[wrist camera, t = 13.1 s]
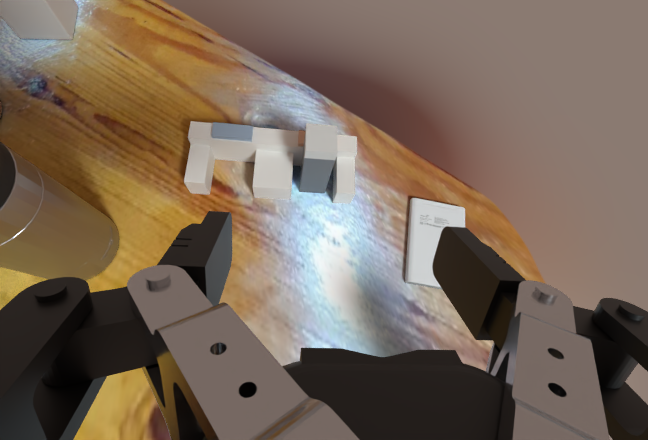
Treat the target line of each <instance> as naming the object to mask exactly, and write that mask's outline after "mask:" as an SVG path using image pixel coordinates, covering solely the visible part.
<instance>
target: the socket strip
mask: <svg viewBox="0 0 648 440" xmlns="http://www.w3.org/2000/svg"><path fill="white" fill-rule="evenodd" d="M304 138H305V131H302V130H299V131H291V130H280V129H269V128H259V127H253V126H249V125H238V124H228V123H217V122H213V123H205V122H194V121H191V123H190V128H189V134H188V139H189V141H190V144H191V145H190V151H189V156H188V162H187V167H186V173H185V178H184V183H185V185H186V186H187V188H188V189H189V191H190V193H194V194H209V195H210V190H211V184H212V177H213V170H214V164H215V159H218V160H230V161H243V162H255V168H254V178H253V192H254V198H268V199H282V200H291V189H292V172H293V166H301V161H302V153H303V145H304ZM356 154H357V137H355V136H345V135H337V156H336V159H335V162H334V165H333V203H341V204H350V203H351V201H352V199H353V197H354V196H355V156H356Z"/></svg>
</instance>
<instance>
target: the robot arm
mask: <svg viewBox="0 0 648 440" xmlns="http://www.w3.org/2000/svg"><path fill="white" fill-rule="evenodd" d="M118 246H119V233H118V230H117V227H116V225H115V224H114V223H113V221H112V220H111V219H110V218H108V217H107V216H106V215H104V214H103V213H102V212H100V211H99V210H97V209H96V208H94V207H93V206H92V205H90V204H89V203H88V202H86V201H85V200H83V199H82V198H80V197H79V196H78V195H76V194H75V193H73V192H72V191H70V190H69V189H67V188H66V187H65V186H63V185H62V184H60V183H59V182H57V181H56V180H55V179H53V178H52V177H50V176H49V175H47V174H46V173H45V172H43V171H42V170H40V169H39V168H37V167H36V166H35V165H33V164H32V163H30V162H29V161H27V160H26V159H24V158H23V157H21V156H20V155H19V154H17V153H16V152H14V151H13V150H11V149H10V148H9V147H7V146H6V145H4V144H3V143H1V142H0V267H3V268H7V269H11V270H15V271H19V272H23V273H27V274H31V275H34V276H38V277H42V278H46V279H49V280H46V281H42V282H39V283H37V284H34V285H32V286H30V287H28V288H26V289H25V290H23V291H22V292H20V293H19V294H18V295H17V296H16V297H14V298H13V299H12V300H11V301H10V302H9V303H8V304H7V305H6V306H5V307H3V308H2V309H1V310H0V440H73V439H74V437H75V435H76V433H77V431H78V430H79V428H80V426H81V424H82V422H83V420H84V418H85V416H86V415H87V413H88V411H89V409H90V407H91V405H92V403H93V401H94V399H95V398H96V396H97V394H98V392H99V390H100V388H101V386H102V384H103V382H104V381H105V379H106V377H107V376H109V375H113V374H117V373H121V372H125V371H129V370H133V369H138V368H142V369H143V372H144V374H145V376H146V378H147V380H148V383H149V385H150V387H151V389H152V392H153V394H154V396H155V398H156V401H157V403H158V405H159V407H160V410H161V412H162V414H163V416H164V419H165V421H166V424H167V427H168V430H169V434H170V437H171V440H610V439H609V435H610V436H611V438H612V439H613V440H648V405H647V404H646V403H645V402H644V401H643V400H642V399H641V398H640V397H639V396H638V395H637V394H636V393H635V392H634V391H633V390H632V389H631V388H630V387H629V385H628V384H626V382H625V381H626V379H627V378H628V377H629V375H630V374H631V372H632V371H633V370H634V368H635V367H636V365H637V364H638V363H639V364H640V365H641V366H642V367H643V368H644V369H646V370H647V371H648V312H647V311H645V310H643V309H641V308H639V307H637V306H635V305H633V304H630V303H628V302H625V301H621V300H618V299H613V298H604V299H601V300H600V302H599V304H598V305H597V307H596V309H595V310H594V311H592V310H588V309H584V308H579V307H575V306H573V304H572V301H571V300H570V299H569V298H568V297H567V296H566V295H565V294H564V293H562V292H561V291H559V290H558V289H556V288H554V287H552V286H549V285H547V284H544V283H541V282H537V281H529V280H528V281H526V280H525V279H524V278H523V277H522V276H521V275H520V274H519V273H518V272H516V271H515V270H514V269H513V268H512V267H511V266H510V265H509V264H506V261H505V260H504V259H503V258H501V257H499V255H498V254H497V253H496V252H495V251H494V250H493V249H492V248H491V247H489V246H487V245H485V244H484V243H482V242H481V241H480V240H479V239H478V238H477V237H476V236H475V235H474V234H473V233H471V232H470V231H469V230H468V229H467V228H465V227H449V226H446V227H444V228H443V230H442V232H441V235H440V239H439V242H438V246H437V249H436V253H435V256H434V259H433V265H432V269H433V274H434V277H435V279H436V280H437V282H438V283H439V285H440V286H441V288H442V289H443V291H444V292H445V294H446V295H447V297H448V298H449V300H450V301H451V303H452V304H453V306H454V307H455V309H456V310H457V312H458V314H459V315H460V317H461V318H462V320H463V321H464V323H465V324H466V326H467V327H468V329H469V330H470V332H471V333H472V335H473V336H474V338H475V339H476V340H493V341H494V343H493V346H492V348H491V350H490V354H489V359H488V364H487V368H486V371H483V370H481V369H478V368H476V367H473V366H470V365H467V364H463V363H462V362H461V360H460V358H459V356H458V354H457V353H456V351H455V350H416V351H411V352H407V353H403V354H398V355H394V356H389V357H377V356H372V355H368V354H363V353H358V352H354V351H349V350H345V349H336V348H301V355H300V361H298V362H294V363H291V364H288V365H285V366H281V365H280V364H279V362H278V361H277V360H276V359H275V358H274V357H273V356H272V354H271V353H270V352H269V351H268V350H267V349H266V347H265V346H264V345H263V344H262V343H261V342H260V341H259V339H258V338H257V337H256V336H255V335H254V334H253V332H252V331H251V330H250V329H249V328H248V327H247V325H246V324H245V323H244V322H243V321H242V320H241V319H240V317H239V316H238V315H237V314H236V313H235V312H234V310H233V309H232V308H231V307H230V306H229V305H228V304H227V303H221V304H219V301H220V298H221V295H222V292H223V289H224V285H225V282H226V279H227V276H228V273H229V270H230V267H231V261H232V217H231V213H230V212H215V211H209V212H208V213H207V215H206V217H205V218H204V220H203V222H202V223H201V224H191V225H189V226H187V227H186V228H184V229H182V230H181V231H180V233H179V234H178V236H177V237H176V240H174V241H173V243H172V244H171V246H170V247H169V249H168V250H167V252H166V253H165V254H164V256H163V257H162V259H161V260H160V262H159V263H158V265H157V266H152V267H148V268H145V269H143V270H141V271H139V272H137V273H135V274H134V275H133V276H132V277H131V278H130V279H129V280H128V283H127V287H123V288H118V289H112V290H105V291H99V292H92V293H90V290H89V285H88V283H87V282H86V281H85V280H87V279H90V278H92V277H94V276H96V275H97V274H99V273H100V272H102V271H103V270H104V269H105V268H106V267H107V266H108V265H109V264H110V263H111V262H112V260H113V258H114V257H115V255H116V252H117V250H118Z"/></svg>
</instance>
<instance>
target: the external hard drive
mask: <svg viewBox="0 0 648 440" xmlns="http://www.w3.org/2000/svg"><path fill="white" fill-rule="evenodd" d="M446 226H449V227H465V208H463V207H459V206H454V205H449V204H444V203H439V202H434V201H429V200H424V199H419V198H412V199H411V200H410V211H409V227H408V243H407V257H406V273H405V283H409V284H415V285H421V286H426V287H432V288H437V289H442V288H441V286H440V285H439V283H438V282H437V280H436V279H435V277H434V274H433V269H432V265H433V259H434V256H435V253H436V249H437V246H438V242H439V239H440V235H441V232H442V230H443V228H444V227H446Z"/></svg>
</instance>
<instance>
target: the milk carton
mask: <svg viewBox="0 0 648 440" xmlns="http://www.w3.org/2000/svg"><path fill="white" fill-rule="evenodd" d="M77 11H78V6H77V4H76V2H75V1H74V0H0V16H1V17H2V18H3V19H4V21H5V22H6V23H7V24H8V25H9V26H10V28H11V29H12V30H13V31H14V32H15V33H16V34H17V36H18V37H19V38H20V39H58V40H72V39H73V35H74V29H75V23H76V17H77Z"/></svg>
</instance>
